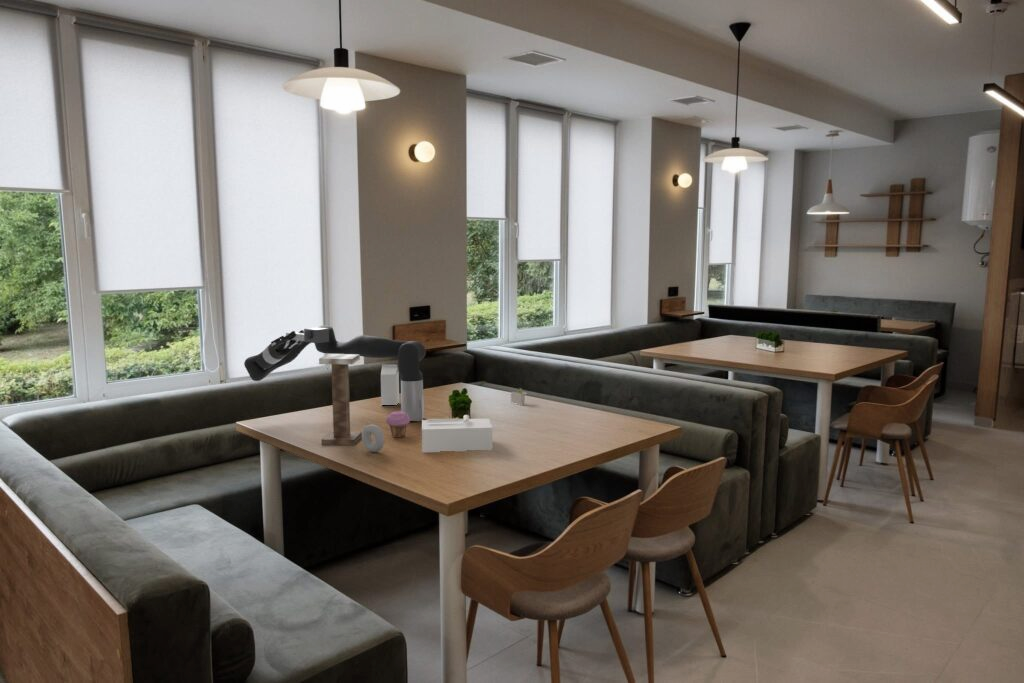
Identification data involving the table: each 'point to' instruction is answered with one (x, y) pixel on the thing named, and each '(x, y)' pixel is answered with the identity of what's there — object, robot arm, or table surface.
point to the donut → (377, 434)
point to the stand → (340, 399)
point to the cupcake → (398, 423)
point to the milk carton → (389, 385)
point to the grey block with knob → (313, 335)
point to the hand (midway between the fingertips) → (298, 332)
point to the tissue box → (456, 434)
